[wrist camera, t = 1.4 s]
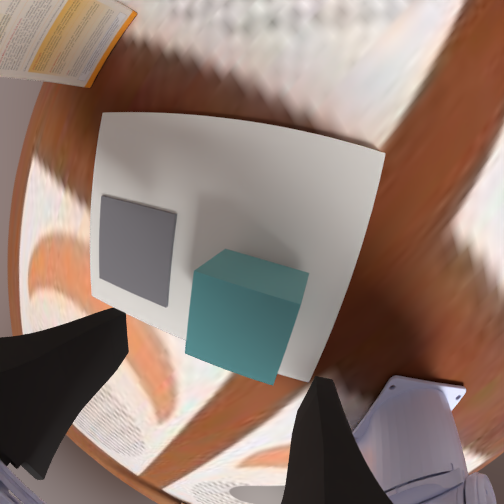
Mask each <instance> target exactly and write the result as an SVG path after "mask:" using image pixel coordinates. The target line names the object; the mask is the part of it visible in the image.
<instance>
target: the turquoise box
mask: <svg viewBox="0 0 504 504" xmlns="http://www.w3.org/2000/svg"><path fill="white" fill-rule="evenodd" d="M308 276H309V273H308V272H304V271H301V270H297V269H294V268H290V267H287V266H283V265H280V264H276V263H273V262H270V261H266V260H263V259H259V258H256V257H252V256H249V255H246V254H242V253H239V252H235V251H232V250H228V249H224V250H223V251H221V252H220V253H218V254H217V255H216V256H214V257H213V258H211V259H210V260H208V261H207V262H206V263H204V264H203V265H201V266H200V267H199V268H197V269H196V270H194V274H193V282H192V290H191V298H190V307H189V317H188V326H187V336H186V347H185V353H186V354H188V355H190V356H193V357H195V358H198V359H200V360H203V361H205V362H208V363H210V364H213V365H215V366H218V367H221V368H223V369H226V370H229V371H231V372H234V373H237V374H240V375H243V376H246V377H249V378H251V379H254V380H258V381H261V382H264V383H267V384H270V385H273V384H274V381H275V379H276V376H277V373H278V371H279V368H280V365H281V362H282V359H283V357H284V354H285V351H286V348H287V345H288V342H289V339H290V336H291V333H292V331H293V328H294V325H295V321H296V318H297V315H298V312H299V309H300V306H301V303H302V299H303V295H304V292H305V288H306V284H307V280H308Z"/></svg>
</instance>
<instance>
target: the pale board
mask: <svg viewBox="0 0 504 504" xmlns="http://www.w3.org/2000/svg"><path fill="white" fill-rule="evenodd" d="M385 154H386V153H383V152H380V151H377V150H374V149H370V148H367V147H364V146H360V145H357V144H353V143H350V142H346V141H342V140H338V139H335V138H331V137H327V136H322V135H318V134H314V133H309V132H305V131H300V130H295V129H291V128H285V127H280V126H275V125H269V124H263V123H257V122H251V121H244V120H237V119H229V118H220V117H211V116H201V115H189V114H174V113H152V112H106V113H103V114H102V119H101V125H100V130H99V136H98V143H97V150H96V157H95V165H94V175H93V185H92V198H91V217H90V271H91V290H92V296H93V297H95V298H97V299H99V300H101V301H103V302H104V303H106V304H108V305H110V306H112V307H114V308H116V309H118V310H120V311H123V312H125V313H126V314H128V315H130V316H132V317H134V318H136V319H138V320H140V321H143V322H145V323H147V324H149V325H151V326H153V327H156V328H158V329H160V330H162V331H165V332H167V333H169V334H171V335H174V336H176V337H178V338H181V339H183V340H186V336H187V326H188V317H189V307H190V298H191V290H192V282H193V274H194V270H196V269H197V268H199V267H200V266H201V265H203V264H204V263H206V262H207V261H208V260H210V259H211V258H213V257H214V256H216V255H217V254H218V253H220V252H221V251H223V250H224V249H228V250H232V251H235V252H239V253H242V254H246V255H249V256H252V257H256V258H259V259H263V260H266V261H270V262H273V263H276V264H280V265H283V266H287V267H290V268H294V269H297V270H301V271H304V272H308V273H309V276H308V280H307V284H306V288H305V292H304V295H303V299H302V303H301V306H300V309H299V312H298V315H297V318H296V321H295V325H294V328H293V331H292V333H291V336H290V339H289V342H288V345H287V348H286V351H285V354H284V357H283V359H282V362H281V365H280V368H279V371H278V373H277V374H281V375H284V376H287V377H291V378H294V379H298V380H301V381H305V382H309V381H310V379H311V377H312V374H313V372H314V370H315V368H316V366H317V363H318V361H319V359H320V357H321V354H322V352H323V350H324V347H325V345H326V343H327V340H328V338H329V335H330V333H331V330H332V328H333V325H334V323H335V320H336V318H337V315H338V313H339V310H340V307H341V305H342V302H343V299H344V297H345V294H346V291H347V288H348V286H349V283H350V280H351V277H352V274H353V271H354V268H355V265H356V262H357V259H358V256H359V253H360V249H361V246H362V243H363V240H364V236H365V233H366V230H367V226H368V223H369V219H370V216H371V212H372V208H373V204H374V201H375V197H376V193H377V189H378V185H379V181H380V176H381V172H382V168H383V163H384V158H385ZM103 195H104V196H108V197H112V198H117V199H121V200H125V201H129V202H133V203H137V204H141V205H144V206H148V207H152V208H156V209H160V210H164V211H168V212H172V213H176V214H177V221H176V229H175V237H174V246H173V255H172V265H171V276H170V287H169V301H168V307H166V308H165V307H163V306H161V305H158V304H156V303H153V302H151V301H149V300H146V299H144V298H142V297H140V296H137V295H135V294H133V293H131V292H128V291H126V290H124V289H122V288H120V287H117V286H115V285H113V284H111V283H109V282H107V281H105V280H103V279H100V278H99V225H100V206H101V196H103Z"/></svg>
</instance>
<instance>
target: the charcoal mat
mask: <svg viewBox="0 0 504 504" xmlns="http://www.w3.org/2000/svg"><path fill="white" fill-rule="evenodd" d="M176 221H177V214H176V213H172V212H168V211H164V210H160V209H156V208H152V207H148V206H144V205H141V204H137V203H133V202H129V201H125V200H121V199H117V198H112V197H108V196H104V195H103V196H101V206H100V225H99V278H100V279H103V280H105V281H107V282H109V283H111V284H113V285H115V286H117V287H120V288H122V289H124V290H126V291H128V292H131V293H133V294H135V295H137V296H140V297H142V298H144V299H146V300H149V301H151V302H153V303H156V304H158V305H161V306H163V307H165V308H166V307H168V301H169V287H170V276H171V265H172V255H173V246H174V237H175V229H176Z"/></svg>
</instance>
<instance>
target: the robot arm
mask: <svg viewBox="0 0 504 504" xmlns="http://www.w3.org/2000/svg"><path fill="white" fill-rule="evenodd" d="M128 352H129V350H128V339H127V326H126V313H125V312H123V311H120V310H118V309H116V308H110V309H107V310H104V311H101V312H98V313H95V314H92V315H89V316H86V317H84V318H81V319H78V320H75V321H72V322H69V323H66V324H63V325H60V326H56V327H53V328H50V329H46V330H43V331H39V332H35V333H30V334H25V335H20V336H13V337H2V338H0V504H23V503H24V504H46V503H45V502H44V501H43V500H42V499H41V498H39V497H38V496H37V495H36V494H35V493H33V492H32V491H31V490H30V489H29V488H28V487H27V486H26V485H25V484H24V483H23V482H22V481H20V479H18V478H17V477H16V476H15V475H14V474H13V473H12V472H11V471H10V470H9V468H8V467H7V465H8V464H9V463H11V464H12V465H13V466H14V467H15V468H16V469H17V468H19V466H20V465H21V466H22V467H23V468H24V469H25V470H27V471H28V472H29V473H30V474H31V475H32V476H33V477H34V478H35V479H38V480H43V479H44V478H45V475H46V473H47V470H48V468H49V465H50V463H51V461H52V458H53V456H54V454H55V452H56V451H57V449H58V447H59V445H60V443H61V441H62V439H63V438H64V436H65V434H66V433H67V431H68V429H69V428H70V426H71V425H72V423H73V422H74V420H75V419H76V417H77V416H78V414H79V413H80V411H81V410H82V409H83V408H84V406H85V405H86V404H87V403H88V402H89V401H90V400H91V398H92V397H93V396H94V395H95V394H96V393H97V392H98V391H99V390H100V388H101V387H102V386H103V385H104V384H105V383H106V382H107V381H108V380H109V378H110V377H111V376H112V375H113V374H114V373H115V372H116V370H117V369H118V367H119V366H120V365H121V363H122V362H123V360H124V358H125V357H126V355H127V354H128ZM392 385H394V386H393V387H390V386H392ZM465 393H466V388H465V387H464V386H458V385H451V384H444V383H437V382H431V381H425V380H420V379H414V378H409V377H403V376H398V375H395V376H392V377H391V378H390V379H389V381H388V382H387V384H386V385H385V387H384V388H383V390H382V392H381V393H380V395H379V396H378V398H377V399H376V401H375V402H374V403H373V405H372V406H371V408H370V409H369V411H368V412H367V413H366V415H365V416H364V418H363V419H362V420H361V422H360V423H359V424H358V426H357V427H356V428H355V430H354V431H353V432H352V431H351V429H350V426H349V424H348V421H347V419H346V416H345V413H344V411H343V408H342V405H341V402H340V399H339V397H338V394H337V391H336V387H335V384H334V382H333V380H332V379H327V378H322V377H318V376H315V378H314V380H313V382H312V384H311V386H310V388H309V390H308V392H307V394H306V396H305V398H304V400H303V401H302V403H301V405H300V407H299V409H298V411H297V415H296V419H295V424H294V428H293V432H292V438H291V447H290V455H289V463H288V471H287V478H286V485H285V490H284V495H283V499H282V502H281V504H497V503H496V498H495V495H494V491H493V488H492V486H491V483H490V481H489V479H488V477H487V476H486V475H484V474H479V473H478V472H474V473H472V474H471V475H468V472H467V467H466V463H465V458H464V454H463V450H462V446H461V442H460V439H459V435H458V432H457V428H456V425H455V421H454V418H453V415H452V412H451V411H452V410H453V408H454V407H455V406H456V405H457V403H458V402H459V401H460V399H461V398H462V397H463V395H464V394H465ZM8 489H9V490H10V491H11V492H12V493H13V494H14V495H15V496H16V497H17V498H18V499H19V500H20V501H22V502H23V503H21V502H20V501H19V500H17V499H16V498H15V497H14V496H12V495H11V494H10V493H9V492H8Z"/></svg>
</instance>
